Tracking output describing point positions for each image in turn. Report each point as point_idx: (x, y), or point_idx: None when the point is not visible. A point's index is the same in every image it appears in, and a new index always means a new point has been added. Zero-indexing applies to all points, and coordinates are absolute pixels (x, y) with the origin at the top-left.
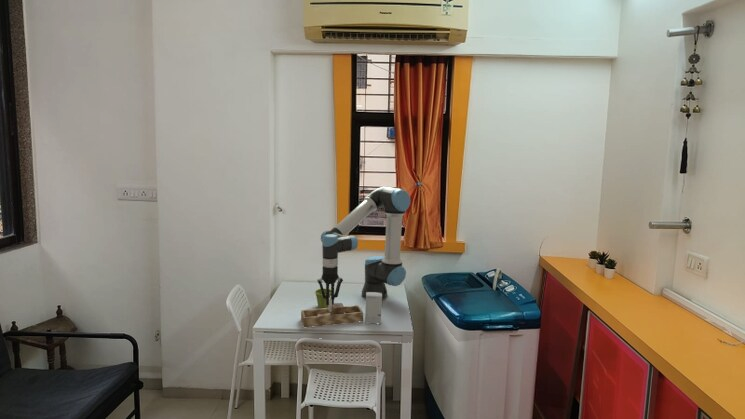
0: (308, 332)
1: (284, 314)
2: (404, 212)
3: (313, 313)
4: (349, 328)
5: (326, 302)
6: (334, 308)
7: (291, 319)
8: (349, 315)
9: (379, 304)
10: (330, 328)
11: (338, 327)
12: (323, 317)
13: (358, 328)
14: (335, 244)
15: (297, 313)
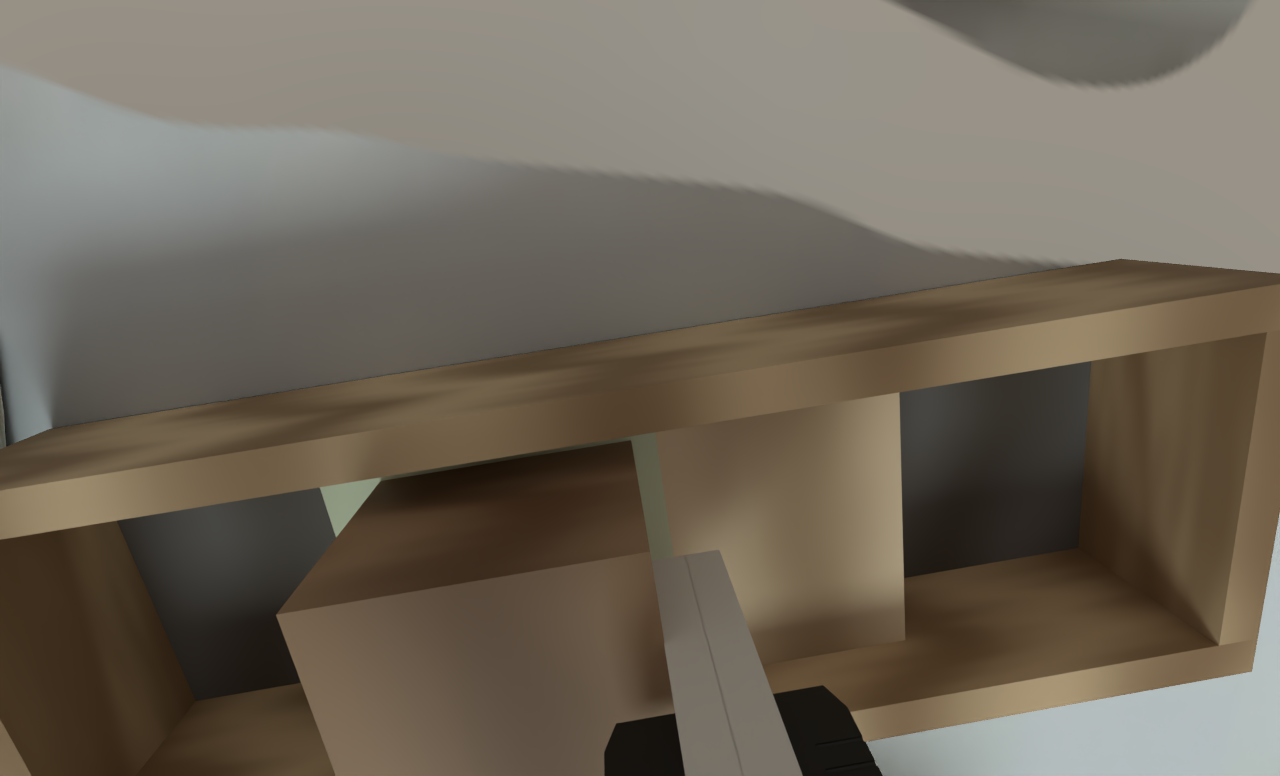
0: (1080, 49)
1: (1274, 731)
2: None
3: (975, 631)
4: (300, 150)
5: (874, 766)
6: (590, 554)
7: None
8: (232, 441)
9: None
10: (671, 189)
11: (520, 219)
12: (849, 345)
13: (109, 130)
14: None
15: (1103, 757)
